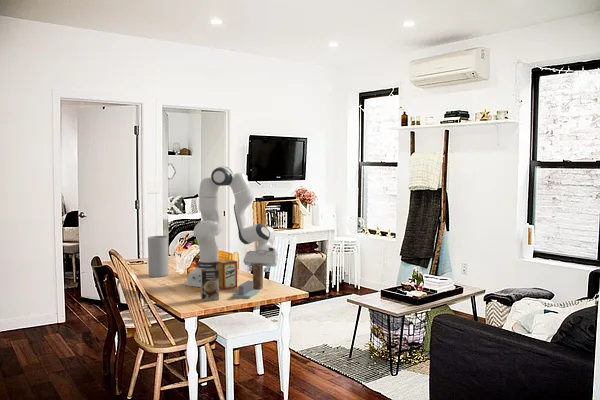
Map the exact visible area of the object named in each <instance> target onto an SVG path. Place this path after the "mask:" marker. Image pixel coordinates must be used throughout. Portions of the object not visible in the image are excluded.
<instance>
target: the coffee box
mask: <svg viewBox="0 0 600 400" xmlns="http://www.w3.org/2000/svg"><path fill="white" fill-rule="evenodd" d="M200 298H201V301H202V302H205V301H219V300H220V289H219V270H218V269H201V287H200Z"/></svg>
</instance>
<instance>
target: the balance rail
mask: <svg viewBox="0 0 600 400" xmlns="http://www.w3.org/2000/svg"><path fill="white" fill-rule="evenodd" d="M237 289H238V290H237V291H236V292H234V293H232V298H235V299H237V298H238V299H249V300H250V299H252V298H253V297H254V296H256V295H257V294H259V293H260V289H253V280H250V279H249V280H245V282H243V283H241V284H240V285H237Z"/></svg>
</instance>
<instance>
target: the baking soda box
mask: <svg viewBox="0 0 600 400" xmlns="http://www.w3.org/2000/svg"><path fill="white" fill-rule="evenodd" d="M217 269H218V270H219V290H222V291H224V290H231V289H236V288H237V289H238V261H237V260H234V259H225V260H219V261H217Z"/></svg>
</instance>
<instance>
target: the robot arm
mask: <svg viewBox="0 0 600 400" xmlns="http://www.w3.org/2000/svg"><path fill="white" fill-rule="evenodd" d="M223 186H229V187H230V188H231V191H232V193H233V196H234V204H233V213H234V217H235V221H236V222H235V223H236V226H237V231H238V234H237V235H238V239H239V241H240V242H241V243H242V244H244V245H250V244H252V243H254V242H257V246H256V249H255V250H249V251H246V252H245V256H244V257H243V264H244V265H245V266H248V271H249V272H253V265H254V264H263V273H267V272H268V270H269V269H270V268H271V267H275V268H276V266H277V265H278V262H279V261H278V260H279V258H278V257H279V254H278V251H277V250H276V248H274V247H273V245H274V242H275V237H276V231H275V230H274V228H273V227H270V226H266V225H264V224H263V223H256V224H252V225H249V226H248V224H247V219H246V215H245V212H246V209H247V208H249V206H250V205H251V204H252V202H253V200H254V192H253V189H252V186H251V184H250V182H249V180H248V178H247V176H246V174H244V173H242V172H238V173H233V171H232V169H231V168H230V167H228V166H219V167H216V168H214V169H213V170H212V171H211V174H210V177H205V178H203V179H202V180H201V181H200V184H199V193H198V209H199V212H200V215H201V217H202V220H201V221H199V222H198V223H197V224H196V225H195V226H194V229H193V233H194V236H195V237H196V239H197V243H198V248H199V260H198V261H197V262H196V263H195V266H196V265H197V266H196V267H195V268H194V269H193V270H192V271H190V272H189V273H188V275H187V280H186V281H184V282H183V286H188V287H197V288H201V269H217V261H220V260H219V247H218V245H217V242H216V236H218V235H220V234H221V232H223V223H222V221H221V217H220V213H219V189H220V187H223Z"/></svg>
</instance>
